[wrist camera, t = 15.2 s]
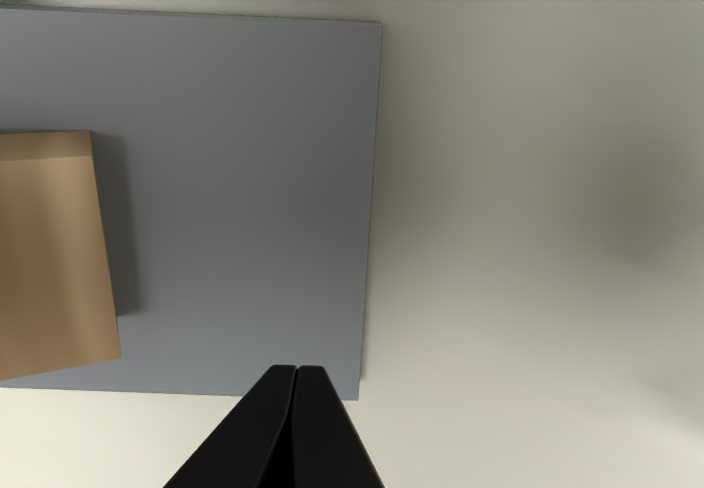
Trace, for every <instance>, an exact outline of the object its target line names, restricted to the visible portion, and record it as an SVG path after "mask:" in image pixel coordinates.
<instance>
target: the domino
mask: <svg viewBox="0 0 704 488" xmlns="http://www.w3.org/2000/svg"><path fill="white" fill-rule="evenodd" d="M121 358H122V357H121V348H120V340H119V331H118V322H117V314H116V307H115V300H114V294H113V287H112V280H111V273H110V266H109V260H108V253H107V246H106V239H105V232H104V226H103V219H102V212H101V205H100V198H99V192H98V185H97V178H96V171H95V164H94V158H93V151H92V144H91V137H90V130H87V131H66V132H45V133H24V134H4V135H0V381H4V380H9V379H15V378H20V377H25V376H30V375H36V374H41V373H46V372H52V371H57V370H62V369H68V368H73V367H78V366H83V365H89V364H94V363H99V362H105V361H110V360H115V359H121Z"/></svg>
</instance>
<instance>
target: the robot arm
mask: <svg viewBox="0 0 704 488" xmlns="http://www.w3.org/2000/svg"><path fill="white" fill-rule="evenodd" d="M163 488H385V487H384V485H383V483H382V481H381V479H380V477H379V475H378V473H377V471H376V469H375V467H374V465H373V463H372V461H371V459H370V457H369V455H368V453H367V451H366V449H365V447H364V445H363V443H362V441H361V439H360V437H359V435H358V433H357V431H356V429H355V427H354V425H353V423H352V421H351V419H350V417H349V415H348V413H347V411H346V409H345V407H344V405H343V403H342V401H341V399H340V397H339V395H338V393H337V391H336V389H335V387H334V385H333V383H332V381H331V379H330V377H329V375H328V373H327V371H326V369H325V368H324V367H323V366H316V365H301V366H300V367H299V368H297V366H295V365H283V364H275V365H272V366H270V367H269V369H268V370H267V371H266V372H265V373H264V374H263V375H262V376H261V378H260V379H259V380H258V381H257V382H256V383H255V384H254V385H253V387H252V388H251V389H250V390H249V391H248V392H247V393H246V395H245V396H244V397H243V398H242V399H241V400H240V401H239V402H238V404H237V405H236V406H235V407H234V408H233V409H232V410H231V411H230V413H229V414H228V415H227V416H226V417H225V418H224V419H223V420H222V422H221V423H220V424H219V425H218V426H217V427H216V428H215V429H214V431H213V432H212V433H211V434H210V435H209V436H208V437H207V438H206V440H205V441H204V442H203V443H202V444H201V445H200V446H199V447H198V449H197V450H196V451H195V452H194V453H193V454H192V455H191V456H190V458H189V459H188V460H187V461H186V462H185V463H184V464H183V465H182V467H181V468H180V469H179V470H178V471H177V472H176V473H175V474H174V476H173V477H172V478H171V479H170V480H169V481H168V482H167V483H166V485H165V486H164V487H163Z"/></svg>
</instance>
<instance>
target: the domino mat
mask: <svg viewBox="0 0 704 488" xmlns="http://www.w3.org/2000/svg"><path fill="white" fill-rule="evenodd" d="M381 39H382V25H381V22H360V21H339V20H318V19H297V18H276V17H255V16H235V15H214V14H193V13H172V12H151V11H130V10H109V9H89V8H68V7H47V6H26V5H5V4H0V135H4V134H24V133H45V132H66V131H87V130H90V137H91V144H92V151H93V158H94V164H95V171H96V178H97V185H98V192H99V198H100V205H101V212H102V219H103V226H104V232H105V239H106V246H107V253H108V260H109V266H110V273H111V280H112V287H113V294H114V300H115V307H116V314H117V322H118V331H119V340H120V348H121V357H122V358H121V359H115V360H110V361H105V362H99V363H94V364H89V365H83V366H78V367H73V368H68V369H62V370H57V371H52V372H46V373H41V374H36V375H30V376H25V377H20V378H15V379H9V380H4V381H0V387H3V388H31V389H58V390H85V391H112V392H139V393H166V394H193V395H220V396H245V395H246V393H247V392H248V391H249V390H250V389H251V388H252V387H253V385H254V384H255V383H256V382H257V381H258V380H259V379H260V378H261V376H262V375H263V374H264V373H265V372H266V371H267V370H268V369H269V367H270V366H272V365H275V364H283V365H295V366H297V368H299V367H300V366H301V365H316V366H323V367H324V368H325V369H326V371H327V373H328V375H329V377H330V379H331V381H332V383H333V385H334V387H335V389H336V391H337V393H338V395H339V397H340V399H341V400H356V401H358V396H359V381H360V365H361V350H362V334H363V318H364V303H365V287H366V272H367V256H368V241H369V225H370V210H371V194H372V179H373V163H374V148H375V132H376V116H377V101H378V85H379V70H380V54H381Z"/></svg>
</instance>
